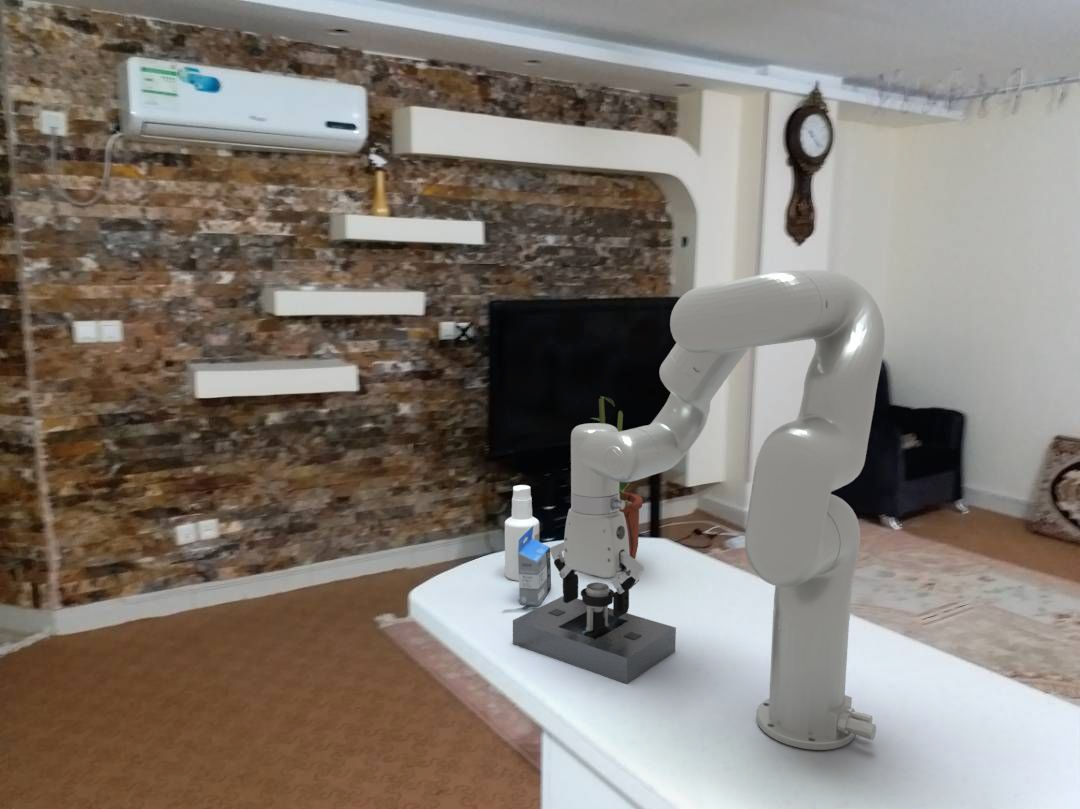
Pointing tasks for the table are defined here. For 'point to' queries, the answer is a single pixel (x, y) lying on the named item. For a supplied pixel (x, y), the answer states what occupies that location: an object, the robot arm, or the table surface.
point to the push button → (597, 609)
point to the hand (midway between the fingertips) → (595, 607)
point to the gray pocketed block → (610, 655)
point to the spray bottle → (518, 528)
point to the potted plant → (631, 500)
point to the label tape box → (533, 570)
